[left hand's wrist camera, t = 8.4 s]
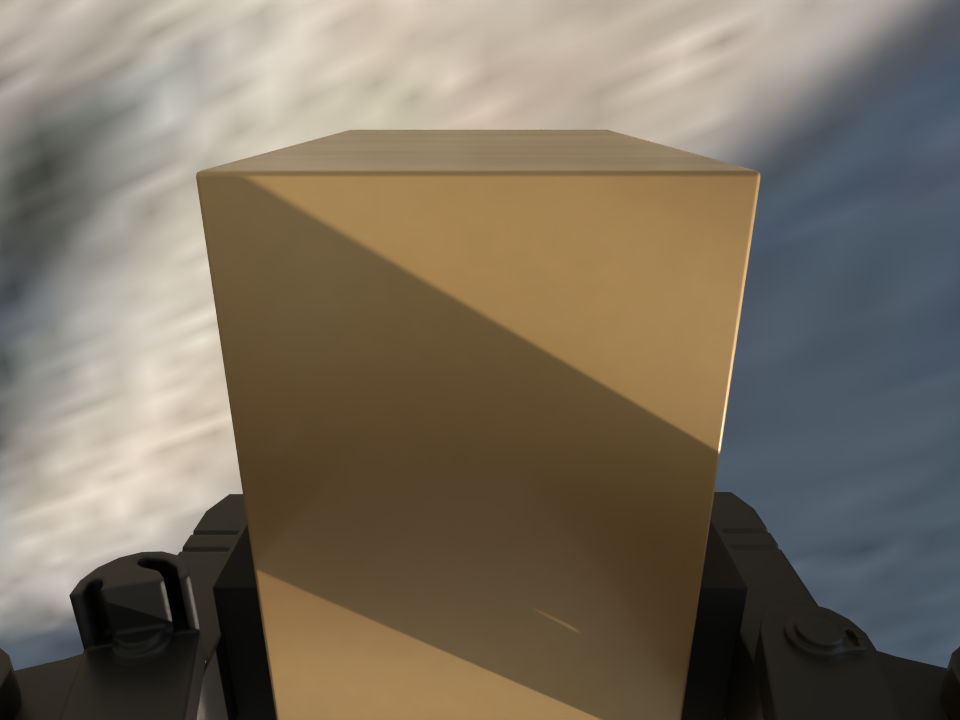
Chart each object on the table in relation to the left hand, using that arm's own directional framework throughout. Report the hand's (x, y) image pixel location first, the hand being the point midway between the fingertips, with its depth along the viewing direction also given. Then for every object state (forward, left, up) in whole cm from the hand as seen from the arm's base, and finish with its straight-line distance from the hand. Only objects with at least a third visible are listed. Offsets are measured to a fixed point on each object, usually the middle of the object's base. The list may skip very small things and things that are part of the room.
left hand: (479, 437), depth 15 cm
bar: (+7, +21, -1) cm, 22 cm away
